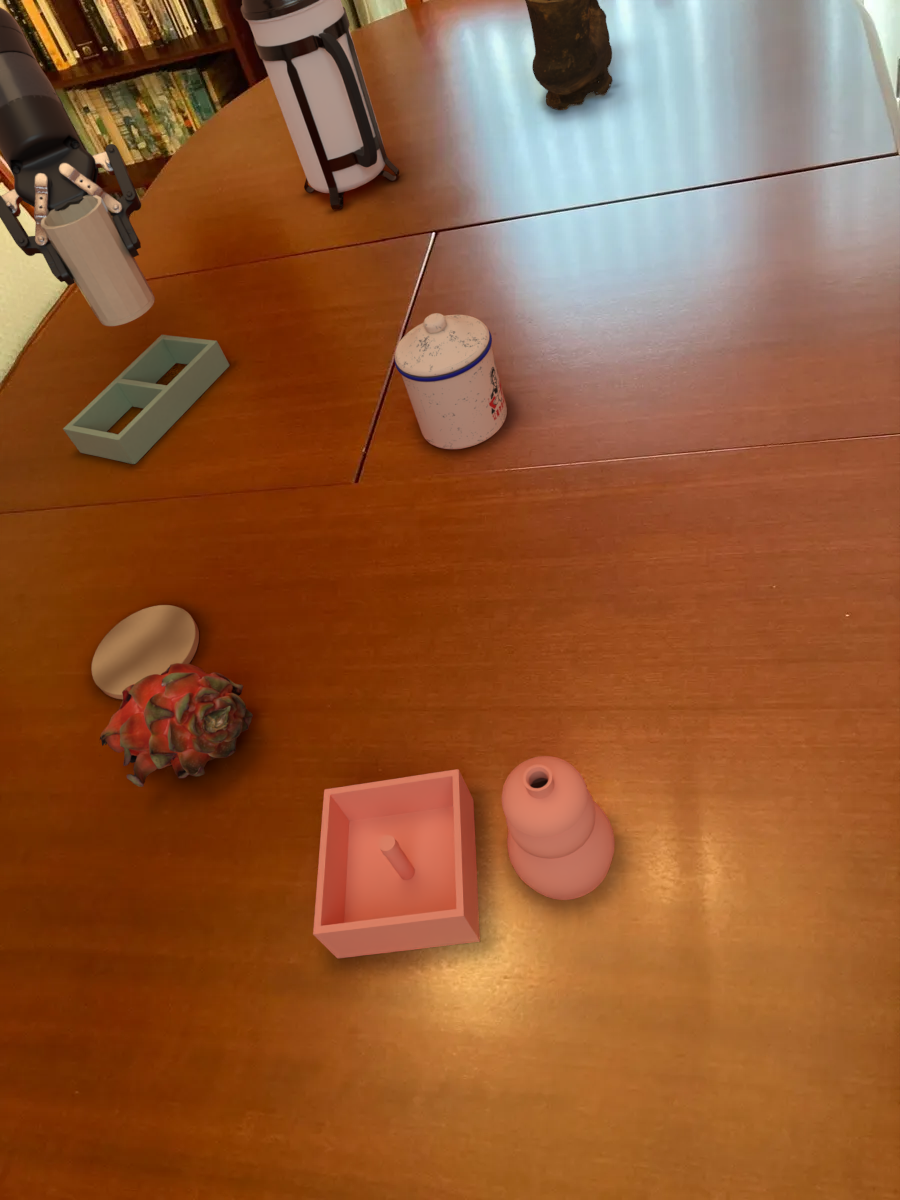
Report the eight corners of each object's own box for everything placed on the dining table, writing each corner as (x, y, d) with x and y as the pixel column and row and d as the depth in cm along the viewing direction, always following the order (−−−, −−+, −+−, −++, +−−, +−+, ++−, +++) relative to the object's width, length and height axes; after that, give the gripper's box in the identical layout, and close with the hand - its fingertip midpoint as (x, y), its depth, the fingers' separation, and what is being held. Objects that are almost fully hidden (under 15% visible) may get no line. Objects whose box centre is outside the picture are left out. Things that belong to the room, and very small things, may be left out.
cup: (88, 324, 95) (28, 227, 87) (126, 290, 98) (71, 194, 90) (128, 328, 92) (70, 229, 84) (166, 293, 95) (113, 194, 87)
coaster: (74, 682, 76) (69, 677, 76) (144, 600, 81) (140, 594, 80) (150, 713, 72) (146, 708, 71) (220, 624, 76) (216, 618, 76)
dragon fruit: (286, 754, 68) (156, 785, 71) (262, 646, 69) (136, 682, 72) (225, 770, 59) (82, 804, 63) (199, 647, 60) (60, 688, 64)
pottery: (337, 958, 55) (275, 897, 47) (345, 818, 61) (291, 745, 54) (628, 924, 52) (610, 852, 44) (605, 780, 58) (586, 697, 51)
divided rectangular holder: (80, 452, 100) (62, 428, 98) (175, 358, 109) (161, 334, 106) (135, 464, 96) (118, 440, 93) (230, 365, 104) (216, 340, 102)
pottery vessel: (547, 66, 139) (524, -85, 125) (616, 51, 136) (601, -106, 122) (534, 137, 124) (506, -27, 109) (612, 121, 121) (593, -49, 106)
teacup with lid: (520, 433, 83) (494, 327, 74) (428, 464, 83) (392, 362, 75) (491, 366, 91) (465, 263, 82) (408, 395, 91) (373, 295, 83)
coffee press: (285, 219, 127) (188, -20, 105) (328, 165, 136) (247, -67, 114) (392, 210, 120) (314, -48, 98) (430, 153, 129) (366, -95, 107)
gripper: (-58, 125, 85) (22, 283, 86) (81, 68, 86) (159, 223, 87) (-25, 164, 92) (49, 309, 93) (103, 110, 94) (174, 253, 94)
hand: (102, 267), depth 90 cm, fingers closed on cup, 6 cm apart
